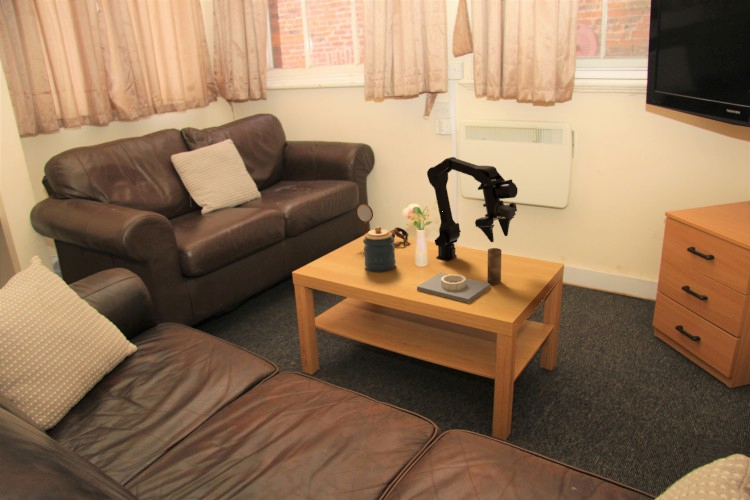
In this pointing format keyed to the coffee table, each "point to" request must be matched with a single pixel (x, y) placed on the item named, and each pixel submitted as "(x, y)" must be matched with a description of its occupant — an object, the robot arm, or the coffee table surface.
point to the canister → (379, 250)
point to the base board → (454, 294)
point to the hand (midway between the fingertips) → (499, 239)
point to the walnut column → (494, 266)
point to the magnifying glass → (365, 214)
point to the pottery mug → (402, 236)
